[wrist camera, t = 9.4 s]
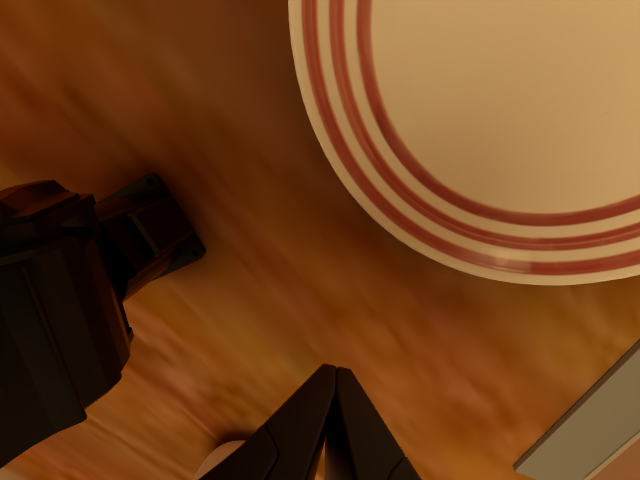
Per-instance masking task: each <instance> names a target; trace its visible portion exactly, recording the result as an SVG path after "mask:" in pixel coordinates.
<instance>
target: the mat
mask: <svg viewBox="0 0 640 480" xmlns="http://www.w3.org/2000/svg"><path fill="white" fill-rule="evenodd" d="M639 432H640V340H639V341H638V342H637V343H636V344H635V345H634V346H633V347H632V348H631V349H630V350H629V351H628V352H627V353H626V354H625V355H624V356H623V357H622V358H621V359H620V360H619V361H618V362H617V363H616V364H615V365H614V366H613V367H612V368H611V369H610V370H609V371H608V372H607V373H606V374H605V375H604V376H603V377H602V378H601V379H600V380H599V381H598V382H597V383H596V384H595V385H594V386H593V387H592V388H591V389H590V390H589V391H588V392H587V393H586V394H585V395H584V396H583V397H582V398H581V399H580V400H579V401H578V402H577V403H576V404H575V405H574V406H573V407H572V408H571V409H570V410H569V411H568V412H567V413H566V414H565V415H564V416H563V417H562V418H561V419H560V420H559V421H558V422H557V423H556V424H555V425H554V426H553V427H552V428H551V429H550V430H549V431H548V432H547V433H546V434H545V435H544V436H543V437H541V438H540V439H539V440H538V441H537V442H536V443H535V444H534V445H533V446H532V447H531V448H530V449H529V450H528V451H527V452H526V453H525V454H524V455H523V456H522V457H521V458H520V459H519V460H518V461H517V462H516V463H515V464H514V465H513V468H514V470H515V471H516V472H519V473H521V474H523V475H526V476H528V477H530V478H533V479H535V480H584V478H586V477H587V476H588V475H589V474H590V473H592V472H593V471H594V470H595V469H596V468H597V467H599V466H600V465H601V464H602V463H603V462H604V461H606V460H607V459H608V458H609V457H610V456H612V455H613V454H614V453H615V452H616V451H617V450H619V449H620V448H621V447H622V446H623V445H625V444H626V443H627V442H628V441H629V440H630V439H632V438H633V437H634V436H635V435H636V434H637V433H639Z"/></svg>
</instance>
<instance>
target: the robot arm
mask: <svg viewBox="0 0 640 480" xmlns="http://www.w3.org/2000/svg"><path fill="white" fill-rule="evenodd" d="M151 179H153V180H154V184H152V183H151ZM195 250H198V251H199V253H200V254H197V253H196V251H195ZM204 255H205V249H204V247H203V245H202V244H201V242H200V241H199V239H198V237H197V236H196V234H195V233H194V231H193V228H192V226H191V225H190V223H189V222H188V220H187V218H186V217H185V215H184V214H183V212H182V210H181V209H180V207H179V206H178V204H177V202H176V201H175V199H174V198H172V196H171V194H170V193H169V191H168V190H167V188H166V186H165V185H164V183H163V182H162V180H161V178H160V177H159V176H158V175H157V174H154V173H152V174H148V175H145V176H144V177H142V178H140V179H139V180H137V181H135V182H133V183H132V184H130V185H128V186H126V187H125V188H123V189H121V190H119V191H118V192H116V193H114V194H113V195H111V196H109V197H107V198H106V199H104V200H102V201H100V202H99V203H97V204H96V203H95V199H94V196H93V194H79V193H74V192H69V190H66V189H65V188H64V187H62V186H61V185H60V184H59V183H57V182H56V181H55V180H42V181H37V182H32V183H27V184H22V185H18V186H13V187H10V188H6V189H4V190H1V191H0V468H2V467H3V466H5V465H6V464H7V463H9V462H10V461H11V460H13V459H14V458H16V457H17V456H19V455H20V454H22V453H23V452H24V451H26V450H27V449H29V448H30V447H32V446H34V445H35V444H37V443H39V442H41V441H43V440H44V439H46V438H48V437H50V436H51V435H53V434H55V433H57V432H59V431H62V430H64V429H67V428H69V427H71V426H74V425H76V424H79V423H81V422H83V421H84V420H85V419H86V418H87V414H86V412H85V409H86V408H88V407H89V406H90V405H92V404H93V403H94V402H96V401H97V400H98V399H100V398H101V397H102V396H104V395H105V394H107V393H108V392H109V391H110V390H111V389H112V388H113V387H114V386H115V385H116V384H117V383H118V382H119V381H120V380H121V378H122V374H121V371H122V370H123V368H124V366H125V364H126V362H127V361H128V359H129V357H130V343H131V341H132V339H133V337H134V334H133V331H132V328H131V327H129V324H128V321H127V317H126V314H125V310H124V307H123V304H122V303H123V302H124V301H126V300H127V299H128V298H130V297H131V296H132V295H133V294H135V293H136V292H137V291H139V290H140V289H141V288H143V287H144V286H145V285H147V284H148V283H149V282H150V281H153V280H155V279H157V278H159V277H161V276H164V275H166V274H168V273H170V272H172V271H175V270H177V269H179V268H181V267H183V266H186V265H188V264H190V263H192V262H195V261H197V260H199V259H201V258H202V257H203V256H204ZM325 437H326V438H325ZM324 441H325V480H422V479H421V478H420V477H419V475H418V474H417V472H416V471H415V469H414V468H413V466H412V464H411V463H410V461H409V460H408V458H407V457H405V454H404V453H403V451H402V449H401V448H400V446H399V445H398V443H397V442H396V440H395V438H394V437H393V435H392V434H391V432H390V431H389V429H388V427H387V426H386V424H385V423H384V421H383V420H382V418H381V416H380V415H379V413H378V412H377V410H376V409H375V407H374V405H373V404H372V402H371V401H370V399H369V397H368V396H367V394H366V393H365V391H364V390H363V388H362V386H361V385H360V383H359V382H358V380H357V379H356V377H355V375H354V374H353V372H352V371H351V370H350V369H348V368H343V367H337V369H336V366H334V365H329V364H322V365H321V366H320V367H319V368H318V369H317V370H316V371H315V372H314V373H313V374H312V375H311V376H310V378H309V379H308V380H307V381H306V382H305V383H304V384H303V385H302V386H301V387H300V388H299V389H298V390H297V391H296V392H295V393H294V394H293V395H292V396H291V397H290V398H289V399H288V400H287V401H286V402H285V403H284V404H283V405H282V406H281V407H280V408H279V409H278V410H277V411H276V412H275V413H274V414H273V415H272V416H271V417H270V418H269V419H268V420H267V421H266V422H265V423H264V424H263V425H261V426H260V427H259V428H258V429H257V430H256V431H255V432H254V433H253V434H252V435H251V436H250V437H249V438H248V439H247V440H246V441H245V442H244V443H243V444H242V445H241V446H240V447H238V448H237V449H236V450H235V451H234V452H232V453H231V454H230V455H229V456H227V457H226V458H225V459H224V460H222V461H221V462H220V463H219V464H217V465H216V466H215V467H213V468H212V469H211V470H210V471H208V472H207V473H206V474H204V475H203V476H202V477H200V478H199V479H198V480H315V476H316V472H317V468H318V465H319V461H320V457H321V454H322V450H323V446H324Z"/></svg>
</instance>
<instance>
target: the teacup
mask: <svg viewBox="0 0 640 480" xmlns="http://www.w3.org/2000/svg"><path fill="white" fill-rule="evenodd" d="M244 442H245V441H244V440H238V441H231V442H227V443H225V444H223V445H221V446H219V447H218V448H216V449H215V450H214V451H213V452H211V453H210V455H209V456H208V457H207V458H206V459H205V460H204V462H203V463H202V464H201V466H200V468H199V469H198V471H197V473H196V474H195V476H194V478H193V480H198V479H199V478H200V477H202V476H203V475H204V474H206V473H207V472H208V471H210V470H211V469H212V468H213V467H215V466H216V465H217V464H219V463H220V462H221V461H222V460H224V459H225V458H226V457H227V456H229V455H230V454H231V453H232V452H234V451H235V450H236V449H237V448H238V447H240V446H241V445H242V444H243V443H244Z"/></svg>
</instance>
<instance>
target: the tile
mask: <svg viewBox="0 0 640 480" xmlns="http://www.w3.org/2000/svg"><path fill="white" fill-rule="evenodd" d="M584 480H640V432H639V433H637V434H636V435H635V436H634V437H633V438H632V439H630V440H629V441H628V442H627V443H626V444H625V445H623V446H622V447H621V448H620V449H619V450H617V451H616V452H615V453H614V454H613V455H612V456H610V457H609V458H608V459H607V460H606V461H604V462H603V463H602V464H601V465H600V466H599V467H597V468H596V469H595V470H594V471H593V472H592V473H590V474H589V475H588V476H587V477H586V478H584Z"/></svg>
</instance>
